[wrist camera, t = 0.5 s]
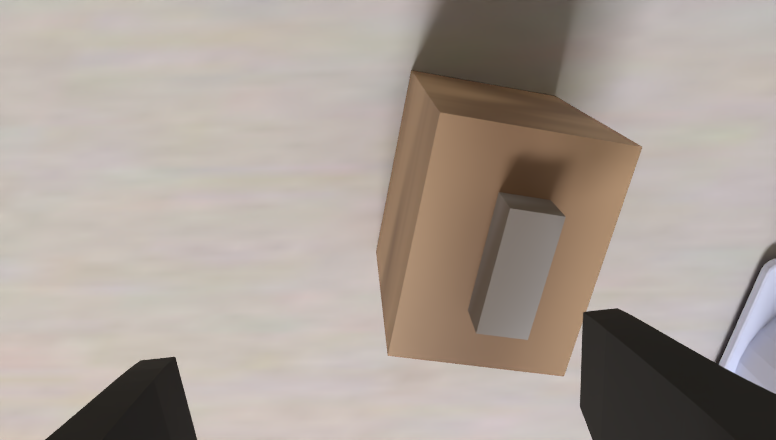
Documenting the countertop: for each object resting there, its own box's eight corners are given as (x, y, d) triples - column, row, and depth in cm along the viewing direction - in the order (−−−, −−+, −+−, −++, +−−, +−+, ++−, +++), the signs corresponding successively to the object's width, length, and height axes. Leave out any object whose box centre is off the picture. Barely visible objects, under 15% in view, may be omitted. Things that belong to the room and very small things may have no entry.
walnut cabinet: (554, 95, 19) (664, 160, 12) (505, 269, 21) (578, 402, 14) (410, 70, 18) (447, 123, 12) (376, 251, 20) (390, 381, 14)
